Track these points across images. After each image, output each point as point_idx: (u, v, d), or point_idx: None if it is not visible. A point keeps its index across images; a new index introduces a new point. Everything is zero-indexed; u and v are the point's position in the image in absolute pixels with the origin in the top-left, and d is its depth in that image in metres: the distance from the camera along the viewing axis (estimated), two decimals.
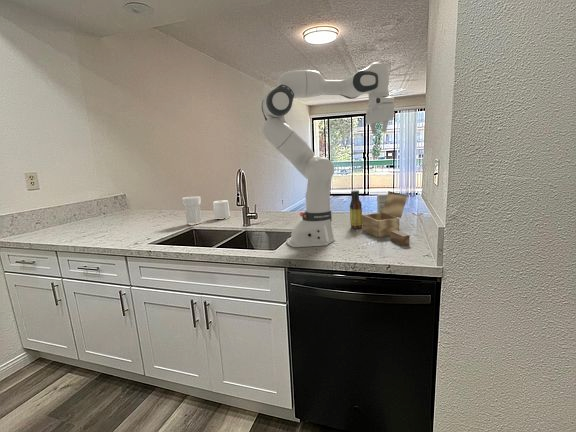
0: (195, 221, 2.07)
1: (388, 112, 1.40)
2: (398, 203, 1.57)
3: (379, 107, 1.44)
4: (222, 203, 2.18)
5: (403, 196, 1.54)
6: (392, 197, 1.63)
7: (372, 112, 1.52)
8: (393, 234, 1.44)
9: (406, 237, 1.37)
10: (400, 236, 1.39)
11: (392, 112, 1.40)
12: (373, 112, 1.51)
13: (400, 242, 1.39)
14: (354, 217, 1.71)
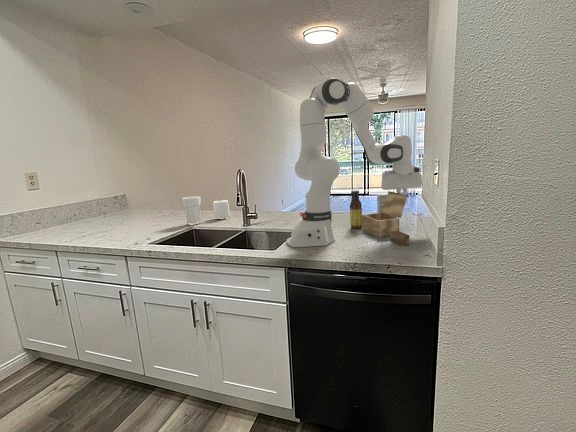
0: (195, 221, 2.07)
1: None
2: (398, 203, 1.57)
3: (413, 175, 1.58)
4: (222, 203, 2.18)
5: (403, 196, 1.54)
6: (392, 197, 1.63)
7: (397, 179, 1.57)
8: (393, 234, 1.44)
9: (406, 237, 1.37)
10: (400, 236, 1.39)
11: None
12: (399, 179, 1.57)
13: (400, 242, 1.39)
14: (354, 217, 1.71)
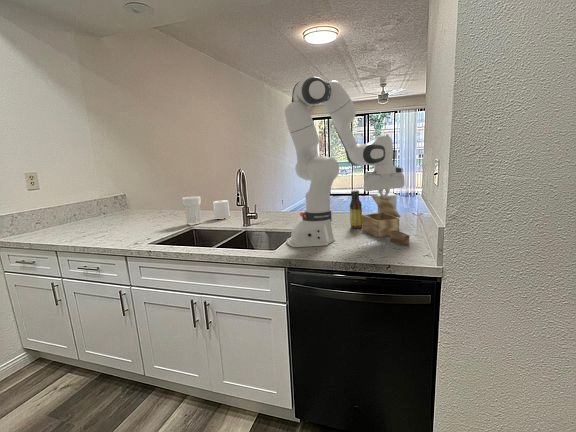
0: (195, 221, 2.07)
1: None
2: (387, 206, 1.56)
3: (395, 176, 1.56)
4: (222, 203, 2.18)
5: (386, 200, 1.53)
6: (378, 200, 1.62)
7: (379, 180, 1.55)
8: (393, 233, 1.44)
9: (406, 237, 1.37)
10: (400, 236, 1.39)
11: None
12: (381, 179, 1.55)
13: (400, 242, 1.39)
14: (354, 217, 1.71)
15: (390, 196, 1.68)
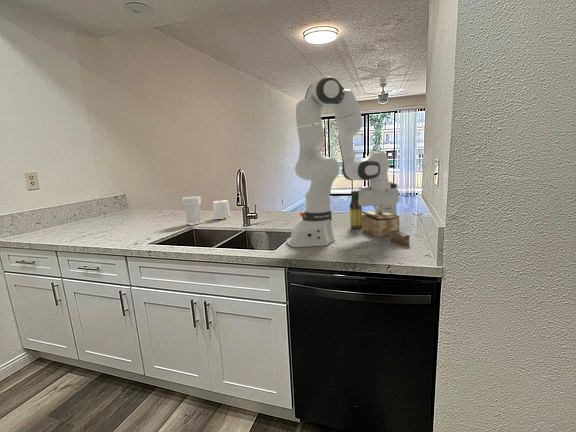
0: (195, 221, 2.07)
1: None
2: None
3: (390, 191, 1.57)
4: (222, 203, 2.18)
5: None
6: None
7: (374, 195, 1.56)
8: (393, 233, 1.44)
9: (406, 237, 1.37)
10: (400, 236, 1.39)
11: None
12: (376, 195, 1.56)
13: (400, 242, 1.39)
14: (354, 217, 1.71)
15: None
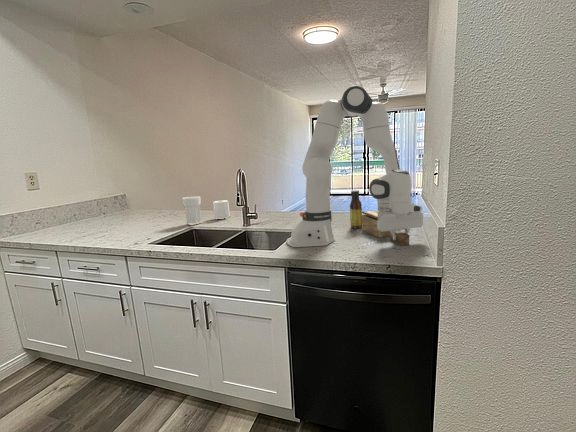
0: (195, 221, 2.07)
1: None
2: None
3: (413, 214, 1.39)
4: (222, 203, 2.18)
5: None
6: None
7: (395, 219, 1.38)
8: None
9: (406, 236, 1.37)
10: (400, 236, 1.39)
11: None
12: (397, 219, 1.38)
13: (400, 241, 1.39)
14: (354, 217, 1.71)
15: None
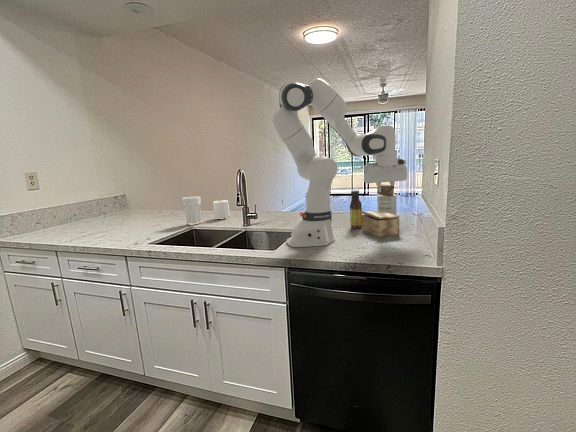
0: (195, 221, 2.07)
1: None
2: None
3: (397, 168, 1.48)
4: (222, 203, 2.18)
5: None
6: None
7: (380, 172, 1.48)
8: None
9: (390, 188, 1.47)
10: (385, 187, 1.48)
11: None
12: (382, 171, 1.48)
13: (385, 193, 1.49)
14: (354, 217, 1.71)
15: (390, 196, 1.68)
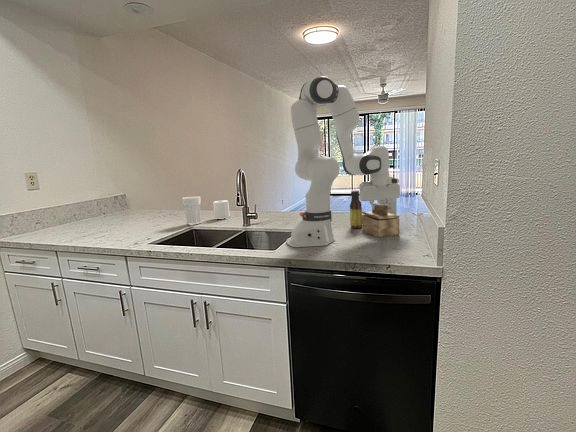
0: (195, 221, 2.07)
1: None
2: None
3: (391, 186, 1.56)
4: (222, 203, 2.18)
5: None
6: None
7: (375, 190, 1.56)
8: None
9: (384, 207, 1.55)
10: (379, 207, 1.57)
11: None
12: (377, 190, 1.56)
13: (379, 212, 1.57)
14: (354, 217, 1.71)
15: None
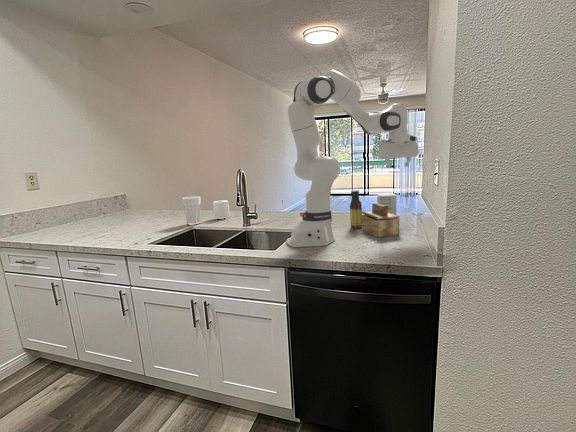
0: (195, 221, 2.07)
1: None
2: None
3: (409, 144, 1.59)
4: (222, 203, 2.18)
5: None
6: None
7: (393, 148, 1.58)
8: (374, 205, 1.62)
9: (384, 207, 1.55)
10: (379, 207, 1.57)
11: None
12: (395, 148, 1.58)
13: (379, 212, 1.57)
14: (354, 217, 1.71)
15: (390, 196, 1.68)
